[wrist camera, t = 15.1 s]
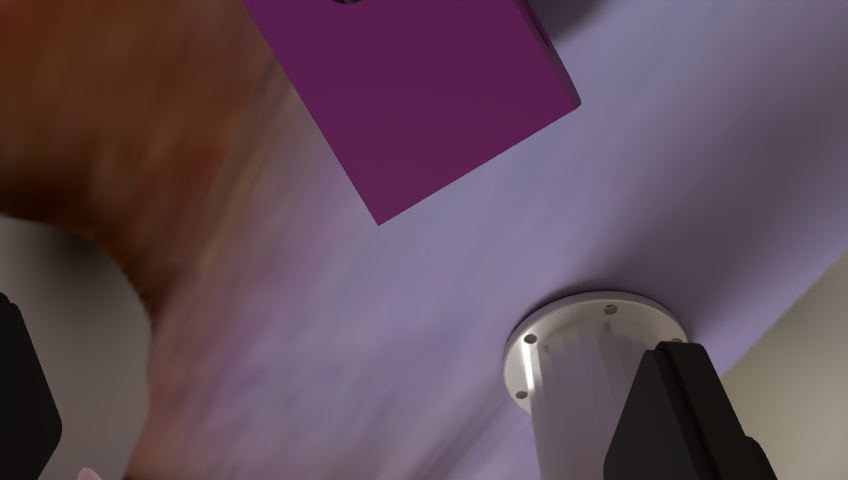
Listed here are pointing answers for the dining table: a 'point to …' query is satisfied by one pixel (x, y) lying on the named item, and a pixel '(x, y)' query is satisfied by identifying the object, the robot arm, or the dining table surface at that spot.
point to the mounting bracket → (417, 85)
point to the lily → (88, 474)
